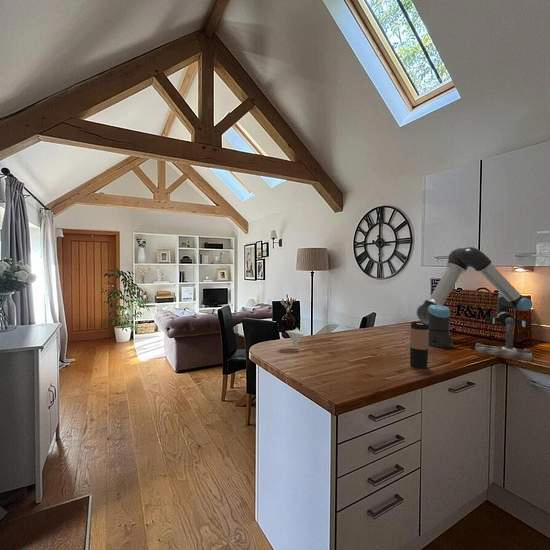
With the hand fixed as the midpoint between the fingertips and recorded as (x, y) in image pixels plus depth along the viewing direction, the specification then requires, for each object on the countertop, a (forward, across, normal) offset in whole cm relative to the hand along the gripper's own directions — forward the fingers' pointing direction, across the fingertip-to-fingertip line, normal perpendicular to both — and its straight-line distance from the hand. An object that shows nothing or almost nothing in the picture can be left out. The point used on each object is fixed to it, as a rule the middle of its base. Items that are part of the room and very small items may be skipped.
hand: (508, 323), depth 173 cm
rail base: (+10, +3, -16) cm, 19 cm away
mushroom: (+67, +98, -19) cm, 120 cm away
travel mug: (+58, +37, -18) cm, 72 cm away
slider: (+10, 0, -15) cm, 18 cm away
